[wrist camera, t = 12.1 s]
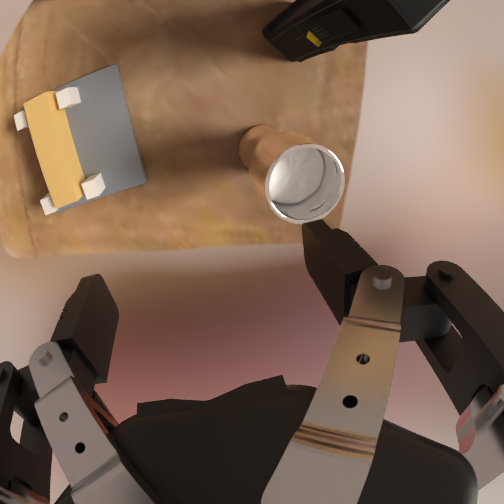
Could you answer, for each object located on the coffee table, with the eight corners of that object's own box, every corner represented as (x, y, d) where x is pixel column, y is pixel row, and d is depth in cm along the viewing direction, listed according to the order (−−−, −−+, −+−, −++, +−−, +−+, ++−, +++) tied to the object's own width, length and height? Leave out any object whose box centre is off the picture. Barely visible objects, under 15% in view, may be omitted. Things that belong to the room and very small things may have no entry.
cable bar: (39, 101, 25) (23, 103, 22) (60, 90, 25) (46, 91, 22) (67, 197, 32) (55, 209, 28) (88, 189, 32) (78, 200, 29)
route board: (27, 105, 26) (11, 108, 22) (118, 64, 26) (109, 61, 23) (59, 210, 33) (48, 222, 30) (147, 180, 34) (142, 191, 31)
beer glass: (283, 180, 38) (332, 232, 25) (229, 170, 36) (252, 220, 23) (297, 128, 34) (357, 153, 22) (241, 115, 33) (274, 130, 20)
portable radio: (290, 71, 31) (448, 59, 9) (252, 38, 28) (367, -43, 7) (330, 32, 29) (497, 1, 7) (295, 0, 26) (437, -80, 5)
